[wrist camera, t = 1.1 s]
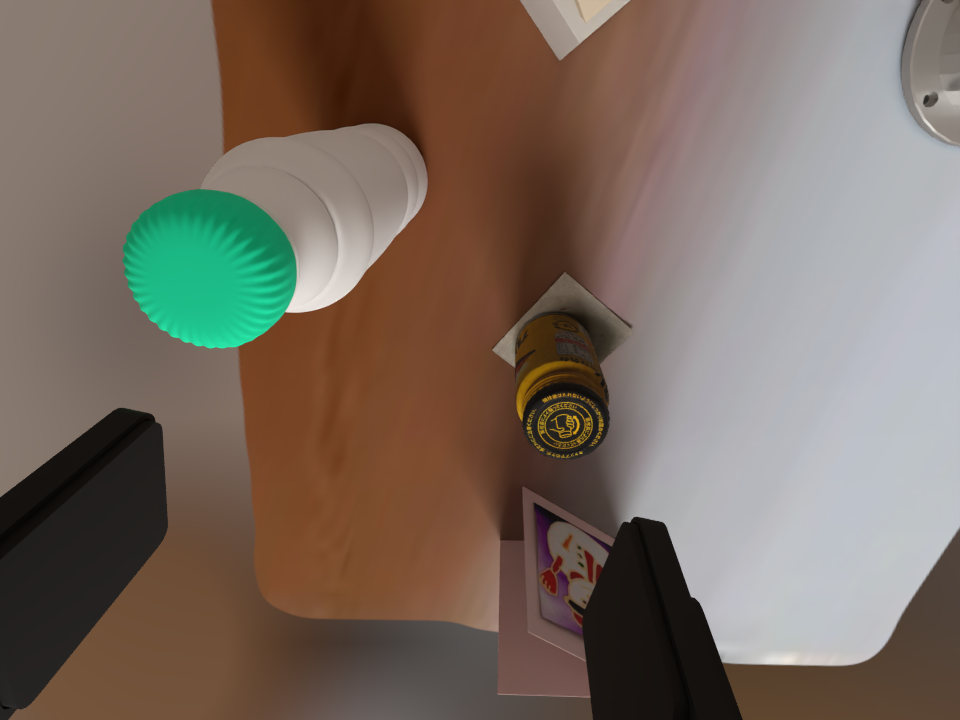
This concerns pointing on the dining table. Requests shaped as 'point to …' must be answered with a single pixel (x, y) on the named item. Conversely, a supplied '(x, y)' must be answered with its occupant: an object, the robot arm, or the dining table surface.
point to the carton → (566, 22)
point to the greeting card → (547, 601)
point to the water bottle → (273, 231)
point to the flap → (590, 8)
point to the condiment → (563, 369)
